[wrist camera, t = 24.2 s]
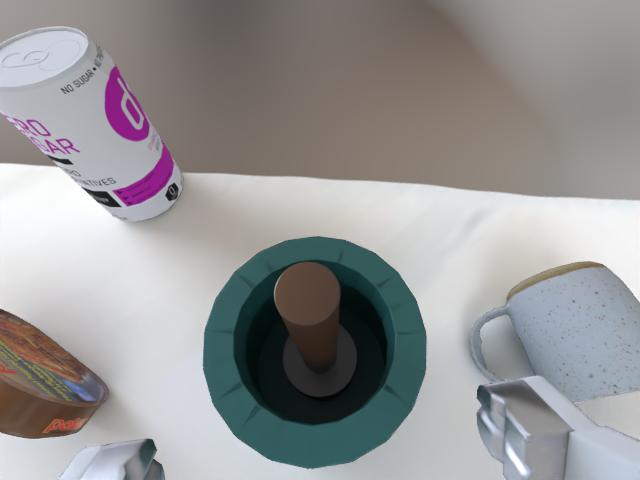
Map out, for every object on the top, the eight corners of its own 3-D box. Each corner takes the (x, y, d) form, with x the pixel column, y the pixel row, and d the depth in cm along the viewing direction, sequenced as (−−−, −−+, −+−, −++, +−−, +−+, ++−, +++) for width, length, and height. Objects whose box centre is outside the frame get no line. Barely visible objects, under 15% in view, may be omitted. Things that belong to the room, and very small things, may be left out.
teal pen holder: (235, 429, 23) (166, 436, 14) (272, 290, 28) (240, 225, 19) (384, 462, 22) (424, 495, 12) (394, 310, 27) (428, 251, 17)
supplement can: (188, 160, 36) (108, 16, 23) (182, 220, 32) (80, 86, 19) (117, 169, 36) (-5, 28, 23) (101, 230, 32) (-57, 101, 19)
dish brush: (282, 393, 23) (209, 356, 10) (296, 326, 26) (254, 218, 12) (349, 407, 23) (375, 388, 9) (358, 337, 25) (389, 236, 11)
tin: (130, 401, 24) (43, 394, 17) (98, 444, 23) (-12, 456, 16) (12, 307, 28) (-100, 269, 21) (-21, 339, 27) (-152, 309, 20)
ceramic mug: (564, 286, 27) (637, 243, 21) (627, 388, 23) (742, 376, 17) (447, 310, 27) (482, 275, 20) (490, 419, 23) (553, 420, 16)
